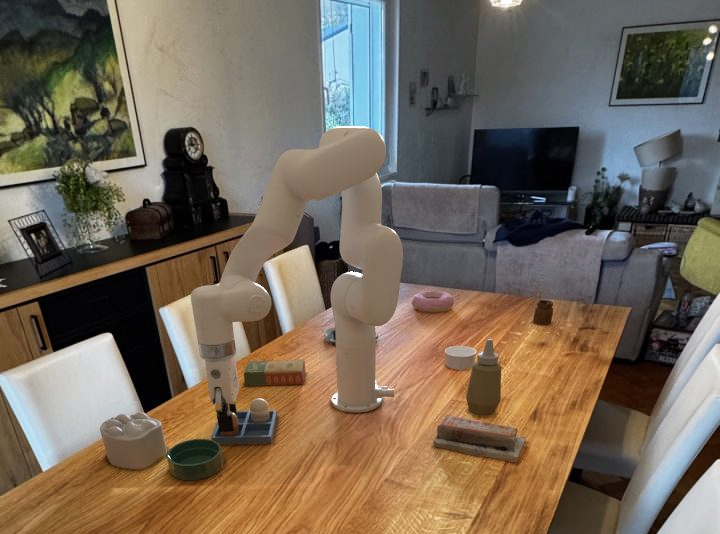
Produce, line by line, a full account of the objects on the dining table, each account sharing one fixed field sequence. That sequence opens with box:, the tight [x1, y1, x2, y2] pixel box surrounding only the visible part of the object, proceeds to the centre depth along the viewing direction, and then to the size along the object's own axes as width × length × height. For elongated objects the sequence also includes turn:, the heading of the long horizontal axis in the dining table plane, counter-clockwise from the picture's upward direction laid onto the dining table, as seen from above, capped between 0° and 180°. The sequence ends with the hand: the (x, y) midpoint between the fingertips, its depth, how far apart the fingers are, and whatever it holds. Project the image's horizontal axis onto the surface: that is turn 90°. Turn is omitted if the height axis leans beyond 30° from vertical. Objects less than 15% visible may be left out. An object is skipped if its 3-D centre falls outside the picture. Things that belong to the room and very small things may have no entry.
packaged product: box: [432, 414, 526, 464], centre depth 123 cm, size 18×5×10 cm
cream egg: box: [249, 397, 270, 423], centre depth 134 cm, size 4×4×6 cm
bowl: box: [165, 438, 225, 481], centre depth 118 cm, size 11×11×4 cm
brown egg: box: [220, 411, 239, 436], centre depth 128 cm, size 4×4×6 cm
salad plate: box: [323, 326, 379, 347], centre depth 185 cm, size 19×18×5 cm
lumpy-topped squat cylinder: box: [99, 411, 168, 470], centre depth 122 cm, size 10×13×9 cm
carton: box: [243, 359, 306, 387], centre depth 157 cm, size 8×16×4 cm, turn 88°
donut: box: [410, 290, 455, 314], centre depth 210 cm, size 16×15×5 cm
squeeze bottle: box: [465, 338, 502, 417], centre depth 133 cm, size 8×8×18 cm
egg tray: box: [210, 409, 278, 445], centre depth 132 cm, size 13×13×2 cm
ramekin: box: [444, 345, 478, 371], centre depth 162 cm, size 9×9×4 cm
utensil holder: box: [532, 286, 557, 326], centre depth 190 cm, size 6×6×12 cm
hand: (228, 424), depth 128 cm, fingers closed on brown egg, 4 cm apart
